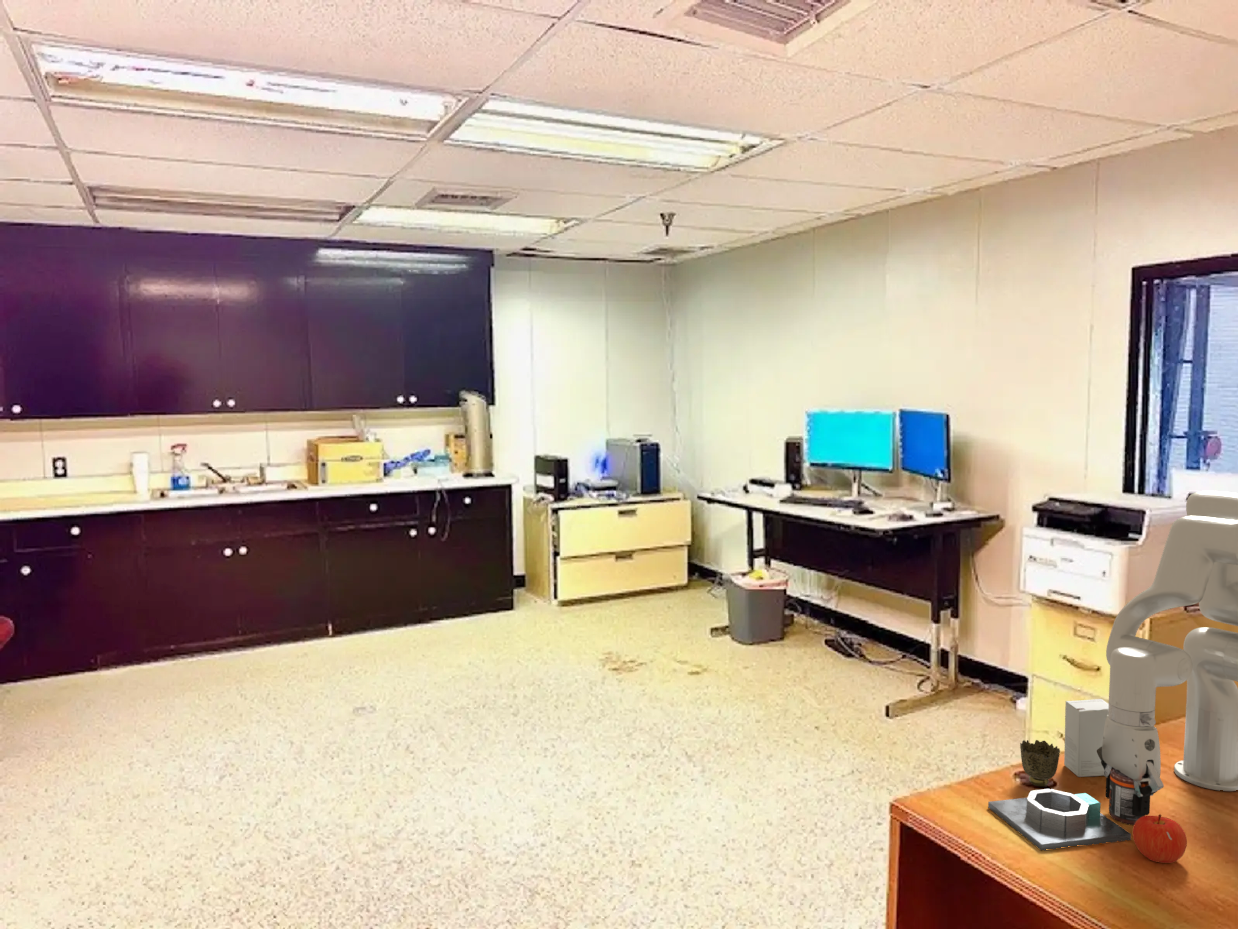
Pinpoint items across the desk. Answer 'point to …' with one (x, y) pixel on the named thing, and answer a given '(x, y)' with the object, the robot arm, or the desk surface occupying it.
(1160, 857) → the apple
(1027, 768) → the cup
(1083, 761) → the skincare box
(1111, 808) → the supplement bottle
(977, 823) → the desk surface
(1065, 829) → the hub plate
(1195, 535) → the robot arm
